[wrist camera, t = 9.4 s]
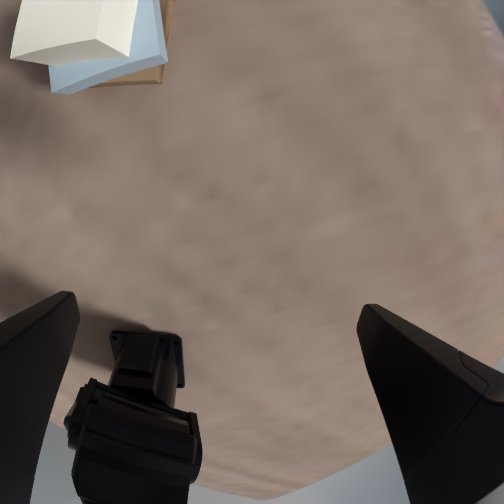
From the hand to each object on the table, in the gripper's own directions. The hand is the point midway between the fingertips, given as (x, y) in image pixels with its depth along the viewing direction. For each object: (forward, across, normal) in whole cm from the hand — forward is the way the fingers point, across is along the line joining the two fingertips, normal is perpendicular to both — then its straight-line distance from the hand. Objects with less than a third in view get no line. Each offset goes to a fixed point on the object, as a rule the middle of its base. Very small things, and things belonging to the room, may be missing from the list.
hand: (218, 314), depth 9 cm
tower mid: (+11, +8, -11) cm, 17 cm away
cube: (+8, +8, -11) cm, 16 cm away
